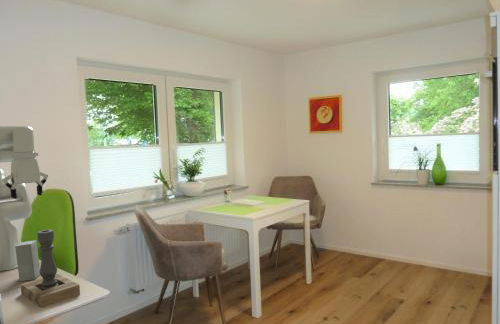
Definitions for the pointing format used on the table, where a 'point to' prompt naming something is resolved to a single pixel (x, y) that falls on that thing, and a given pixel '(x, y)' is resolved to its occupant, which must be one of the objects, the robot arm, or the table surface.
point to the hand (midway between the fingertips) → (27, 196)
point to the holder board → (50, 291)
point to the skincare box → (27, 260)
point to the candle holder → (47, 259)
